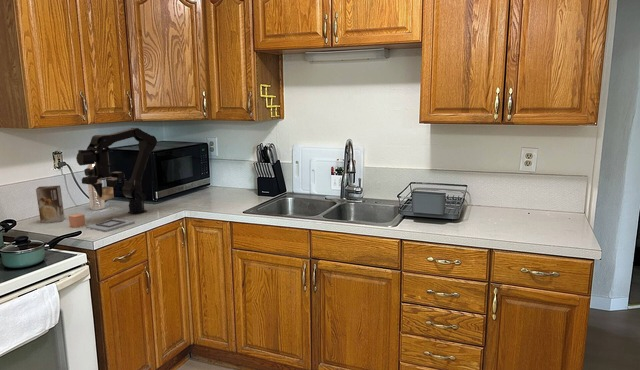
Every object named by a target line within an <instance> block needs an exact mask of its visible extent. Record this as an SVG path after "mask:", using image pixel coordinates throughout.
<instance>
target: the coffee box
mask: <svg viewBox="0 0 640 370" xmlns="http://www.w3.org/2000/svg"><path fill="white" fill-rule="evenodd" d="M35 193H36V194H35V195H36V200H37V206H38V213H39V221H40V224H45V223H46V224H47V223H48V224H49V223H57V222H58V223H59V222H63V221H64V220H65V218H66V217H65V212H64V211H65V210H64V202H63V197H62V196H63V195H62V188H61V185H46V186H45V185H44V186H38V187H37V188H36V189H35Z"/></svg>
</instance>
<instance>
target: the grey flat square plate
mask: <svg viewBox="0 0 640 370" xmlns="http://www.w3.org/2000/svg"><path fill="white" fill-rule="evenodd" d="M133 224H134V225H135V224H136V222H135V221H133V220H127V219H120V218H111V219H108V220H104V221H101V222H97V223H94V224H91V225H87V226H86V225H85V228H86V229H87V228H90V229H89V230H93V229H95V230H94V231H99V230H101V231H100V232H104V231H106V232H105V233H108V232H111V231H113V230H117V228H118V229H120V228H124V227H126V226H131V225H133ZM110 230H111V231H110ZM107 231H108V232H107Z"/></svg>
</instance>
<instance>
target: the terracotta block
mask: <svg viewBox="0 0 640 370" xmlns="http://www.w3.org/2000/svg"><path fill="white" fill-rule="evenodd" d="M85 217H86V216H85V214H82V213H75V214H71V215H68V220H69V221H68V223H69V227H70V228H74V229H77V227H78V228H81V227H80V226H82V227H84V225H85V226H86V218H85Z"/></svg>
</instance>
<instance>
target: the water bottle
mask: <svg viewBox="0 0 640 370" xmlns="http://www.w3.org/2000/svg"><path fill="white" fill-rule="evenodd" d="M94 165H95V163H94V164H89V165H87V167H86V168H85V169H87V168H90V169H94V167H93V166H94ZM86 177H88V176H86ZM100 183H102V187H104V185H103V180H100ZM87 188H88V198H89V205H90V210H93V211H99V210H103V209H105V207H106V202H105V201H106V200H101V199H97V192H96V190H95V188H94V187H93V186H92V185H91V184H87Z"/></svg>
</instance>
